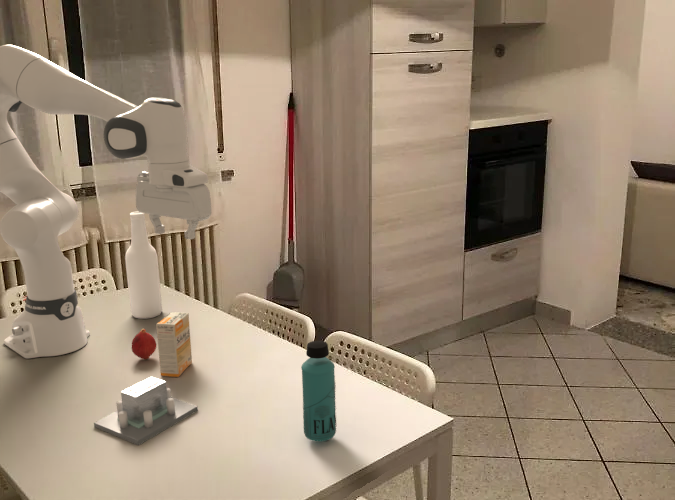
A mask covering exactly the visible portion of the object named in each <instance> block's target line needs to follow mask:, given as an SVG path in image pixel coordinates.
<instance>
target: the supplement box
mask: <svg viewBox="0 0 675 500" xmlns="http://www.w3.org/2000/svg"><path fill="white" fill-rule="evenodd" d="M189 316H190V314H189V313H188V312H179V311H177V312H175V311H171V312H169V313H168V314H167V315H165V317H163V318H162V319H161V320H159V321H158V322H157V323H156V324H155V326H156V334H157V335H156V338H157V346H158V347H157V348H158V349H157V350H158V357H159V358H158V359H159V370H160V371H159V373H160V376H161V377H169V378H170V377H172V378H173V377H174V378H179V377H180V376H181V375H182V374H183V373H184V371H185V370H186V369H187V368H188V367H189V366H190V365H192V363H193V360H192V359H193V357H192V355H193V354H192V343H191V329H190V318H189Z"/></svg>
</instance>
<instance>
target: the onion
mask: <svg viewBox="0 0 675 500" xmlns="http://www.w3.org/2000/svg"><path fill="white" fill-rule="evenodd" d="M156 349H157V341H156V338H155V337H154V336H153V335H152V334H150V333H149V332H147V331H146V329H145V328H141V330H140V331H139V332H138V333H137V334H136V335H134V337H133V339H132V341H131V351H132V353H133V354H134V355H135V356H136V357H138V358H140V359H143V360H148V359H149V358H150V357H151V356H152V355H153V354H154V353H155V352H156Z"/></svg>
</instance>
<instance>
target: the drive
mask: <svg viewBox="0 0 675 500" xmlns="http://www.w3.org/2000/svg"><path fill="white" fill-rule="evenodd" d="M167 386H168V385H167V381H165V380H163V379H160V378H157V377H154V376H150V377H147V378H146V379H144V380H142V381H139V382H137V383H135V384H132V386H130V387H129V386H128V387H127V388H125V389H124V390H121V391H120V396H121V397H120V398H121V400H122V406H123V411H126V412H127V418H128V420H129V421H131V422H134V423H136V424H140V423H142V422H144V415H143V412H144V411H147V410H151V411H152V417H153V416H155V415H156V414H158V413H160V412H162V411H164V410H165V409H167V405H166V400H167V399H168V396H167V388H168V387H167Z"/></svg>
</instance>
